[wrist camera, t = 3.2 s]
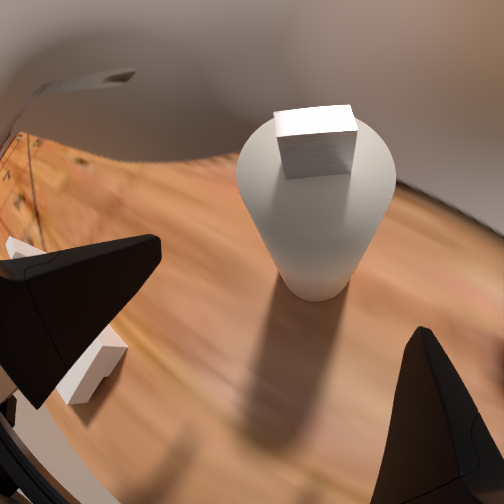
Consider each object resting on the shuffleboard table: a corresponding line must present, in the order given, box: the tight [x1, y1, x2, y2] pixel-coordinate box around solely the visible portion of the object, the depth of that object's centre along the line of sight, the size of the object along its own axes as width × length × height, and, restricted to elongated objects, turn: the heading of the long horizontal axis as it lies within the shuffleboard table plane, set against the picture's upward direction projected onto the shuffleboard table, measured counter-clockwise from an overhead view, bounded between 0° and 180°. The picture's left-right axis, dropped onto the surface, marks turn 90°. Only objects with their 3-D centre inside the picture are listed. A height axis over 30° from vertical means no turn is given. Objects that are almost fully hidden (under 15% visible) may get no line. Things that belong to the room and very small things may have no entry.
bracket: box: [5, 236, 128, 405], centre depth 19 cm, size 13×7×8 cm, turn 52°
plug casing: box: [236, 105, 396, 302], centre depth 13 cm, size 5×5×14 cm
